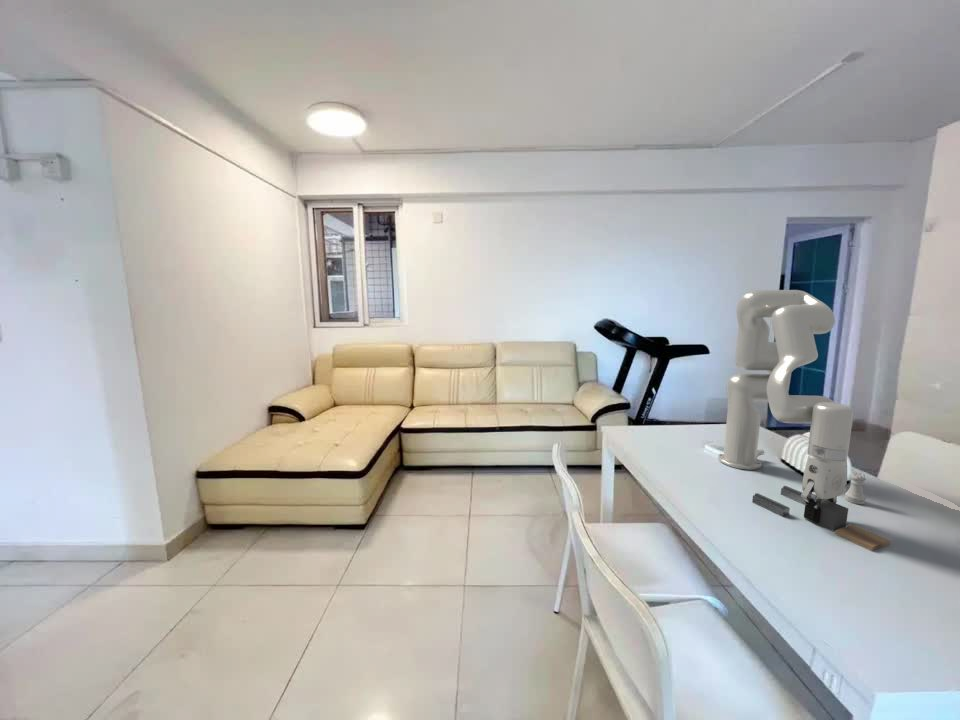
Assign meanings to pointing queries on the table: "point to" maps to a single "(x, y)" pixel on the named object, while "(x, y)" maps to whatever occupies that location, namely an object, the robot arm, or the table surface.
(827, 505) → the dark gray cube
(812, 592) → the table surface
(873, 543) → the pad
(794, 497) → the metal bars
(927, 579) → the table surface
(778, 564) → the table surface
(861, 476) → the rook chess piece
